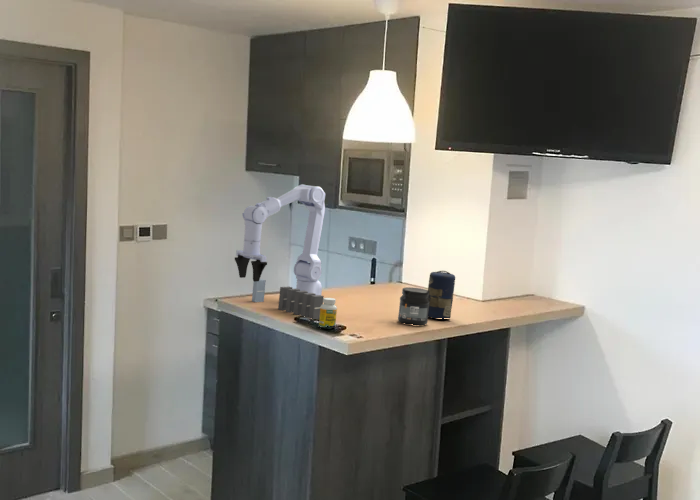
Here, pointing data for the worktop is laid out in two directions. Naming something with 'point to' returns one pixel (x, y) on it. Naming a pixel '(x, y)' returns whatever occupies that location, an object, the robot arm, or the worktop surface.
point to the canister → (440, 294)
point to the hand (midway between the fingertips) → (249, 279)
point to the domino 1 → (258, 291)
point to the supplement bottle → (328, 312)
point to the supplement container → (414, 306)
